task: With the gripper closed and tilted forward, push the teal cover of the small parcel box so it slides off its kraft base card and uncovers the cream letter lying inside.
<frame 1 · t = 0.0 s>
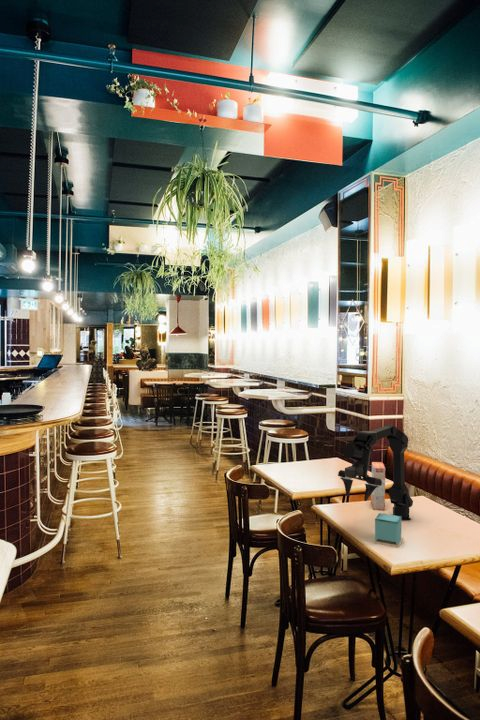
hand: (356, 498, 206), 15 cm above the table, tool pointing down, fingers open, 9 cm apart
cover: (388, 528, 199), point 5 cm above the table, slide at 0.0 cm
parcel base: (388, 540, 200), on the table
cracker box: (377, 506, 247), on the table
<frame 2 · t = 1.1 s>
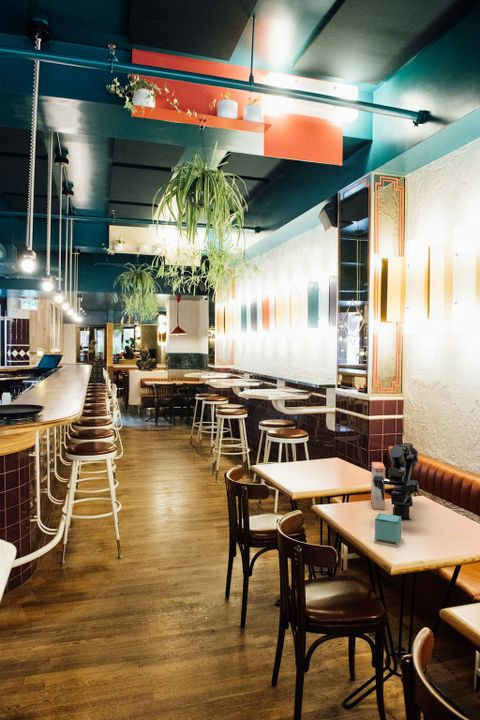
hand: (393, 501, 210), 13 cm above the table, tool tilted 45°, fingers open, 8 cm apart
nothing on the table moved.
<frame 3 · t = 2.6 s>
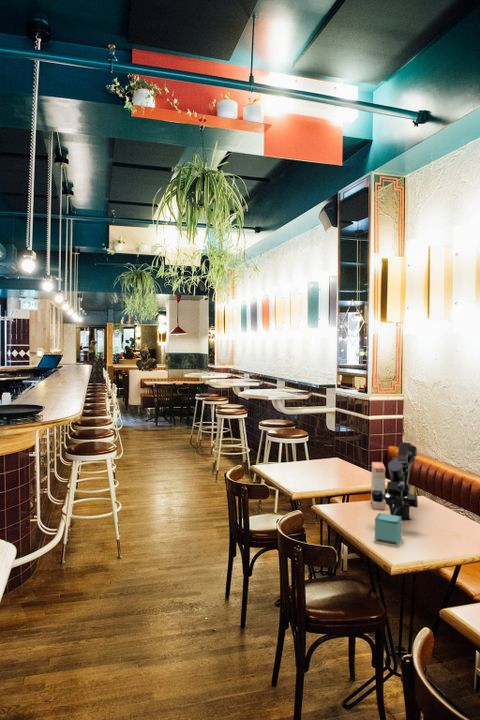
hand: (391, 516, 206), 8 cm above the table, tool tilted 45°, fingers closed
nothing on the table moved.
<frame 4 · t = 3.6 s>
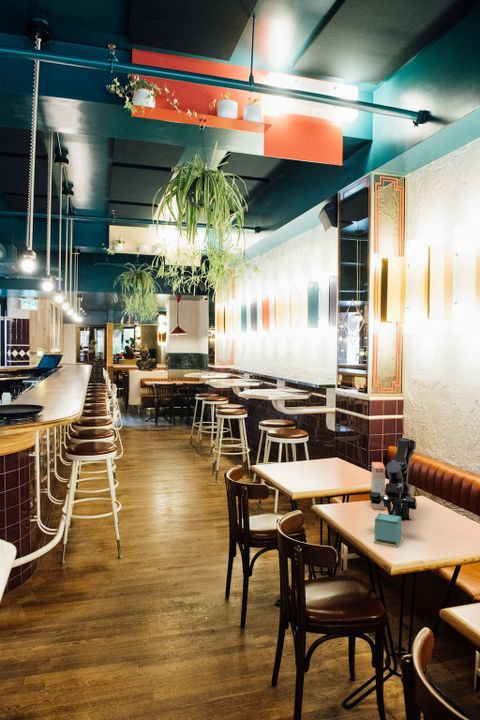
hand: (390, 518, 203), 8 cm above the table, tool tilted 45°, fingers closed, pressing on cover
cover: (388, 528, 199), point 5 cm above the table, slide at 0.2 cm, touching gripper
everything else where it was.
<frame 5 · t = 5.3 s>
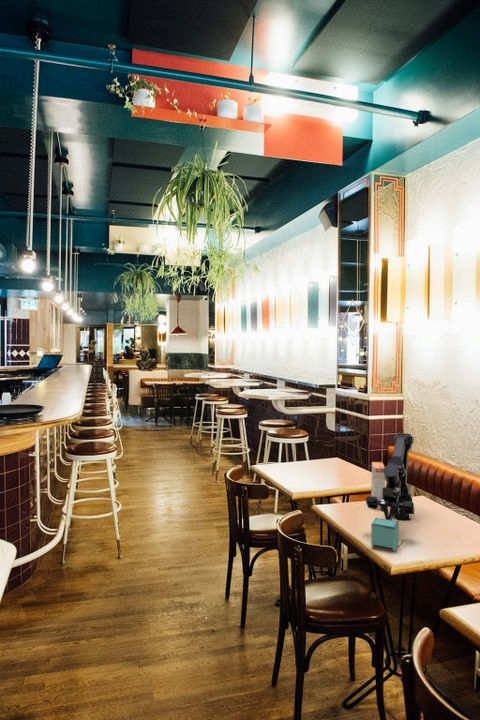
hand: (387, 523, 197), 8 cm above the table, tool tilted 45°, fingers closed
cover: (385, 533, 193), point 5 cm above the table, slide at 6.7 cm
everything else where it was.
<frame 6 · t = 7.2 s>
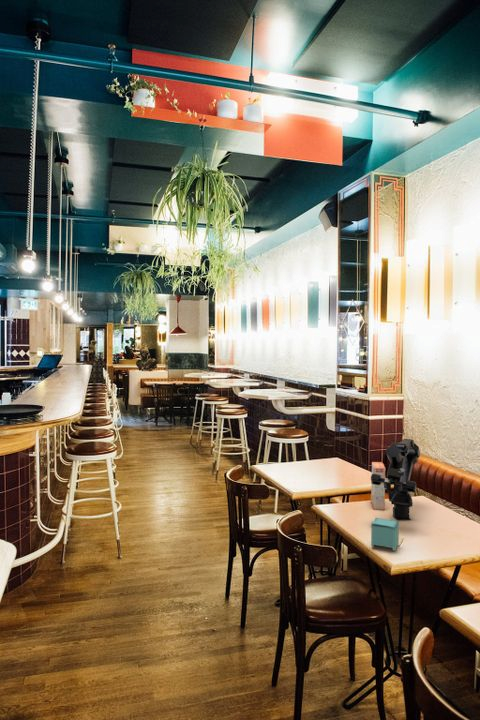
hand: (390, 501, 210), 13 cm above the table, tool tilted 40°, fingers closed
nothing on the table moved.
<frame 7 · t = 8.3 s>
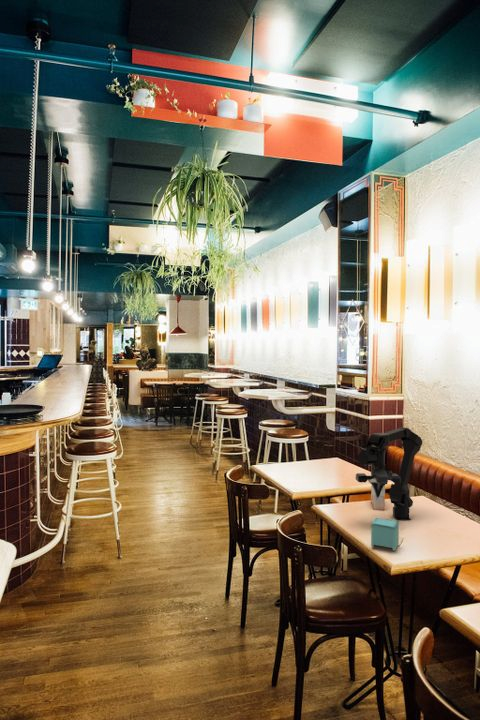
hand: (377, 497, 218), 12 cm above the table, tool pointing down, fingers closed
nothing on the table moved.
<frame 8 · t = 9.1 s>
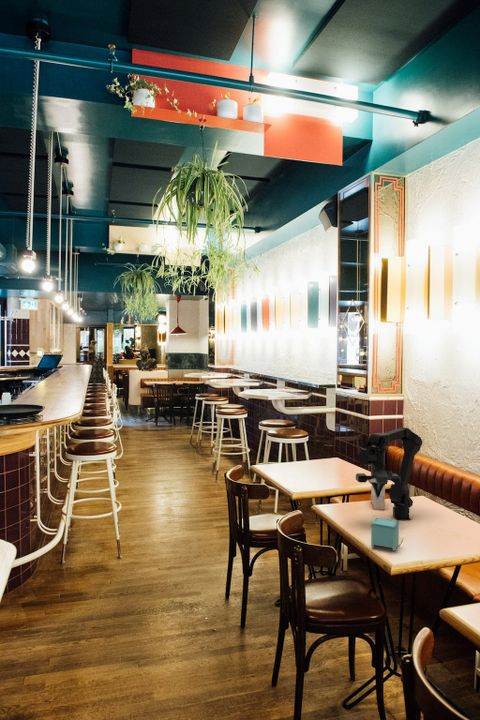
hand: (377, 497, 218), 12 cm above the table, tool pointing down, fingers closed
nothing on the table moved.
at the end: cover slide at 6.7 cm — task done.
